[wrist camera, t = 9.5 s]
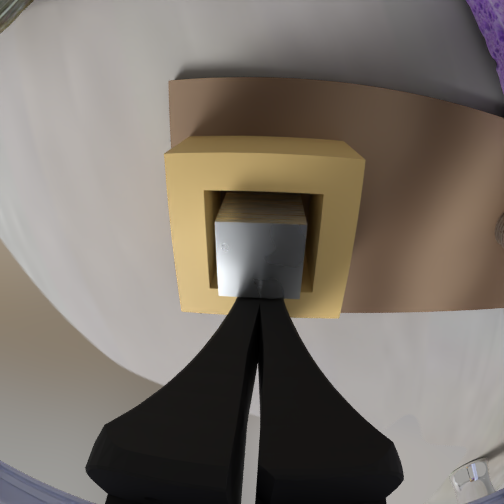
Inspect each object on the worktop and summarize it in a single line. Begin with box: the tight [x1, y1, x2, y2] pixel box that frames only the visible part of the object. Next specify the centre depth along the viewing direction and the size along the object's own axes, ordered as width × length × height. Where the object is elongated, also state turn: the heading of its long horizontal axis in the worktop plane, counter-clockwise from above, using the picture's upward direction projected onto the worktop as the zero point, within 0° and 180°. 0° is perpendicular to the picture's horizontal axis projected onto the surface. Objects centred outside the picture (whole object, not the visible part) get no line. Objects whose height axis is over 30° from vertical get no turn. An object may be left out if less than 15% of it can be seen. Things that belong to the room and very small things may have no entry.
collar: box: [164, 136, 366, 318], centre depth 11 cm, size 6×6×3 cm
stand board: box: [169, 77, 504, 313], centre depth 11 cm, size 19×10×5 cm, turn 89°
